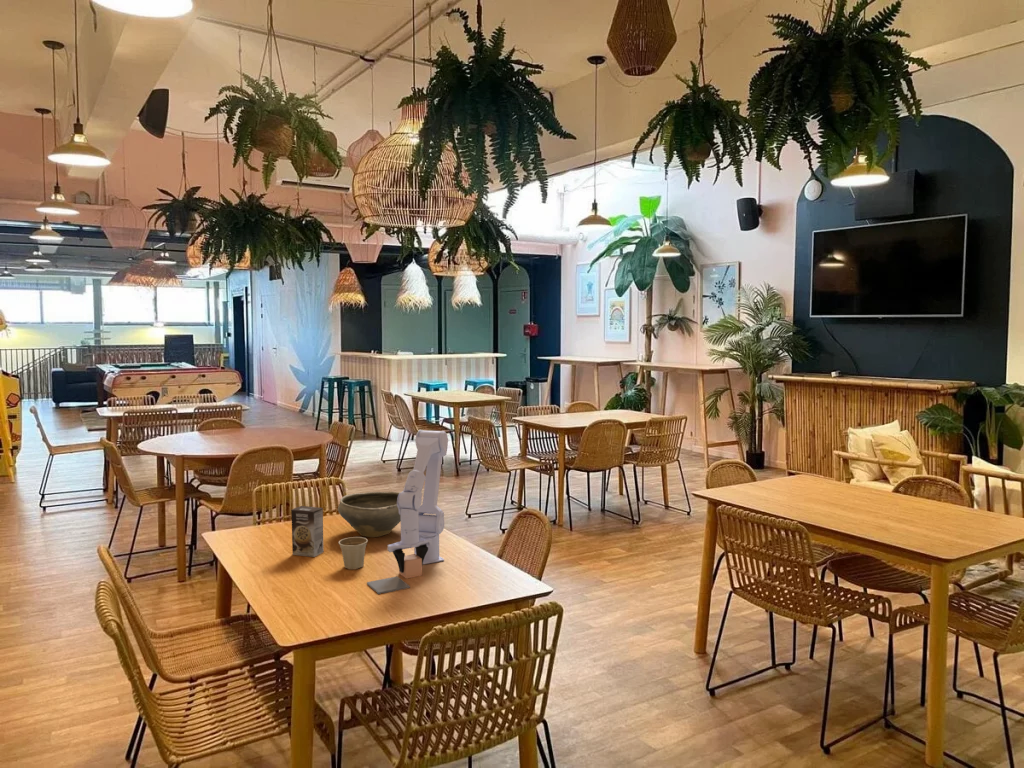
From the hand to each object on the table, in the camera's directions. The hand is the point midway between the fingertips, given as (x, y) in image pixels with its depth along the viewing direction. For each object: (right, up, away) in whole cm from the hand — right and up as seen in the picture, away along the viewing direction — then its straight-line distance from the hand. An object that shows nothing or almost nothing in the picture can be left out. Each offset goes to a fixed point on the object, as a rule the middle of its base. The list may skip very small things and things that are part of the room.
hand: (410, 570), depth 234 cm
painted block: (0, -1, 0) cm, 1 cm away
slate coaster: (-5, -2, -10) cm, 12 cm away
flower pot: (-20, -1, +8) cm, 21 cm away
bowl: (-20, +2, +46) cm, 51 cm away
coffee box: (-39, 0, +22) cm, 45 cm away
